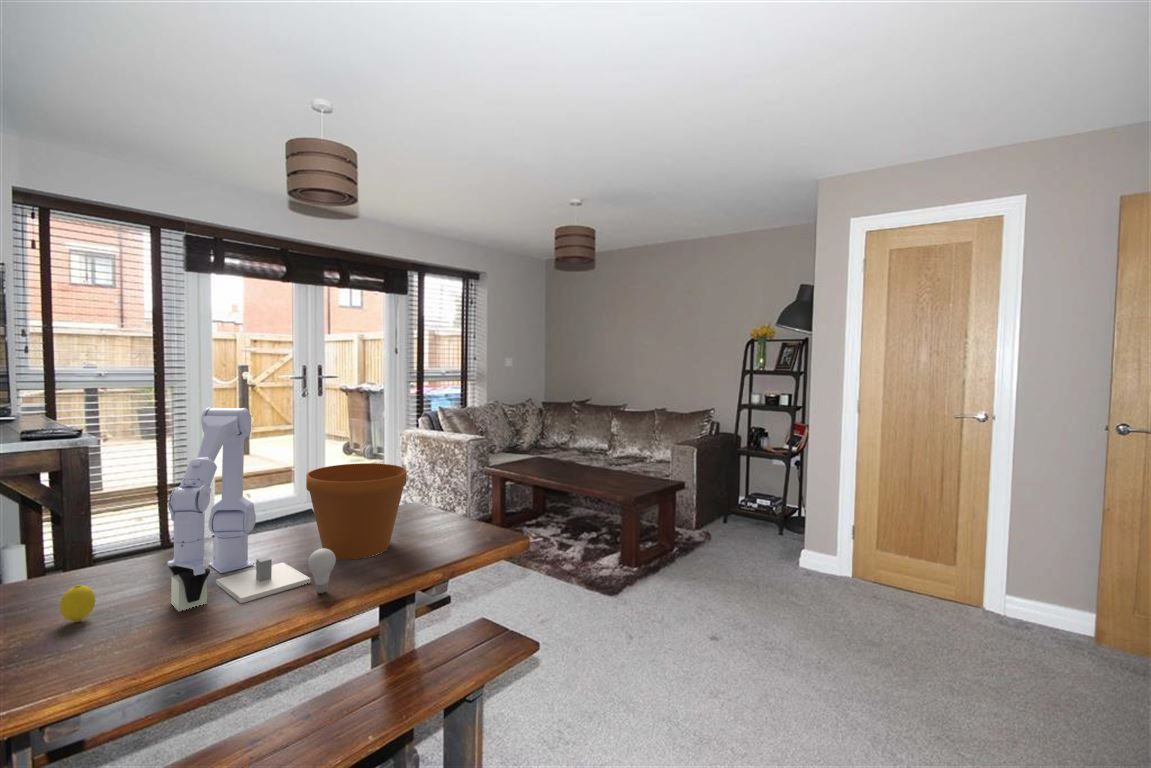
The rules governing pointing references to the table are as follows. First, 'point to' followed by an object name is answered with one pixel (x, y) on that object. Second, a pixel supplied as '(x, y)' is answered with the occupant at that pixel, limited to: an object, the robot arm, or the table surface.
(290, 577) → the post board
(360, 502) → the flowerpot
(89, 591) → the lemon
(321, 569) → the lightbulb
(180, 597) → the pale green block
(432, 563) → the table surface
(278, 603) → the table surface
